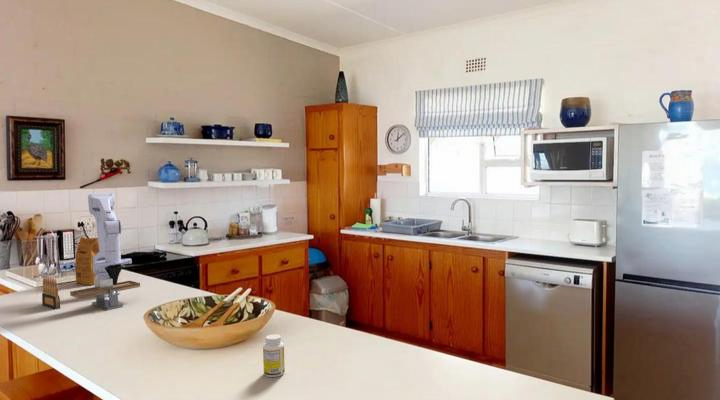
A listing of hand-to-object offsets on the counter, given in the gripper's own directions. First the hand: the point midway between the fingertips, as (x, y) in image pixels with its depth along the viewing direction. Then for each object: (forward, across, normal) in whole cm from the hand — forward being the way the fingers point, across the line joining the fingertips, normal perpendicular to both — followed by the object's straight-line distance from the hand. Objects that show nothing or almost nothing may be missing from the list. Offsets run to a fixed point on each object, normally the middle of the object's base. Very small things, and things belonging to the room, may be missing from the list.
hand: (114, 283), depth 211 cm
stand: (+8, -3, 0) cm, 9 cm away
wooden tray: (+2, -3, 0) cm, 4 cm away
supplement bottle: (+9, -9, -104) cm, 105 cm away
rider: (+1, -4, +1) cm, 4 cm away
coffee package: (+8, +12, +47) cm, 49 cm away
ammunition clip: (+9, -17, +17) cm, 26 cm away
